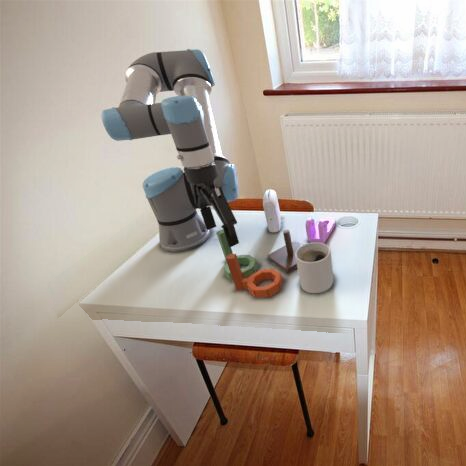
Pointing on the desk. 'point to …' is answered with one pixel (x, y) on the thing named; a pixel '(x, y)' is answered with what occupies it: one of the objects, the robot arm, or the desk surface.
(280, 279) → the rust ring
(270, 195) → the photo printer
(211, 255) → the desk surface
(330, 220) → the bracket
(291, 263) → the peg stand
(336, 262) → the desk surface
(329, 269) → the mug
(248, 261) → the sage ring
